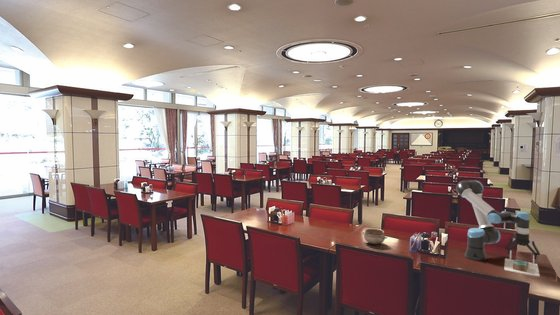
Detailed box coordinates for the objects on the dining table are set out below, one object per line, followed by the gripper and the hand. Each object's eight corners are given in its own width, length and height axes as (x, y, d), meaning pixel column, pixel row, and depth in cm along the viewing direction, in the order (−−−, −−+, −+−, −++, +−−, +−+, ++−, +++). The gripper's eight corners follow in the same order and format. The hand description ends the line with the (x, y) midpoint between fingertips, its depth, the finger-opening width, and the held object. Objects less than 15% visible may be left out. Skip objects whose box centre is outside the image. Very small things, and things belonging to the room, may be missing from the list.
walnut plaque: (514, 264, 236) (512, 269, 227) (515, 259, 236) (513, 263, 227) (528, 267, 230) (526, 272, 221) (528, 261, 230) (526, 266, 221)
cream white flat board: (539, 277, 214) (539, 276, 214) (504, 270, 227) (504, 269, 227) (537, 265, 237) (537, 264, 237) (505, 259, 249) (505, 258, 249)
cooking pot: (391, 244, 286) (391, 231, 285) (382, 249, 272) (382, 235, 271) (366, 238, 303) (366, 226, 302) (357, 243, 289) (357, 230, 289)
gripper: (544, 235, 223) (543, 264, 224) (502, 228, 240) (502, 255, 241) (544, 237, 218) (543, 267, 219) (501, 230, 235) (500, 258, 236)
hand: (521, 261), depth 230 cm, fingers open, 13 cm apart
